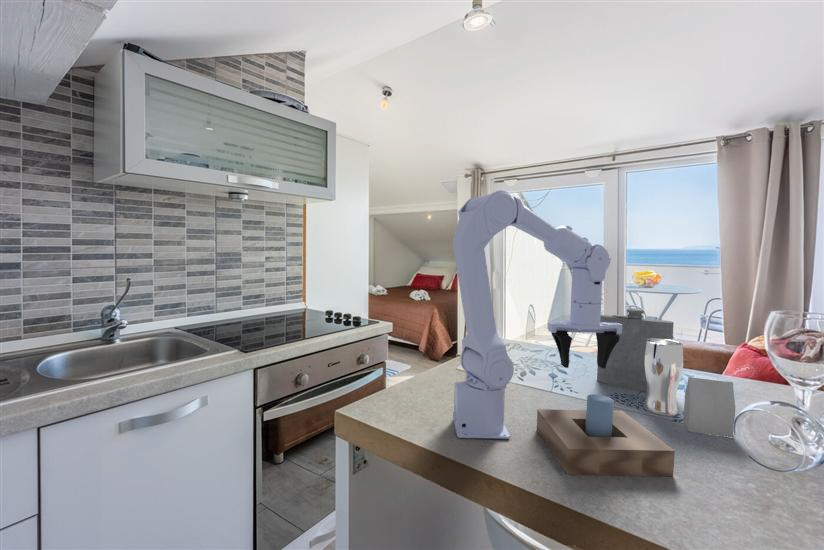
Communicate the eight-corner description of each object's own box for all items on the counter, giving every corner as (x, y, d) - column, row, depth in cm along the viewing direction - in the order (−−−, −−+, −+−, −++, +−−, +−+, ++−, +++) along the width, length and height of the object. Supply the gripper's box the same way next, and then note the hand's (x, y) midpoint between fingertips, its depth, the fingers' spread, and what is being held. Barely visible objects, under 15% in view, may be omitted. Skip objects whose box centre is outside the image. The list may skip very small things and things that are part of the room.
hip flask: (669, 391, 90) (674, 311, 89) (669, 396, 87) (674, 313, 86) (597, 378, 99) (601, 305, 98) (595, 382, 96) (599, 306, 95)
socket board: (567, 474, 56) (568, 448, 55) (536, 429, 70) (537, 409, 69) (673, 476, 55) (674, 450, 55) (621, 431, 69) (622, 410, 69)
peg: (591, 456, 61) (594, 403, 60) (580, 443, 65) (583, 394, 64) (615, 457, 61) (618, 404, 60) (603, 444, 65) (606, 394, 64)
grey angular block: (733, 438, 67) (736, 385, 67) (688, 431, 70) (691, 380, 69) (725, 430, 71) (728, 379, 70) (683, 423, 73) (686, 374, 73)
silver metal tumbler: (662, 418, 75) (666, 346, 74) (633, 405, 82) (637, 338, 81) (688, 415, 77) (692, 344, 76) (658, 402, 84) (661, 337, 83)
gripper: (610, 300, 80) (607, 361, 81) (544, 299, 80) (541, 360, 81) (629, 304, 73) (626, 371, 74) (556, 303, 73) (553, 370, 74)
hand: (583, 366), depth 77 cm, fingers open, 7 cm apart
